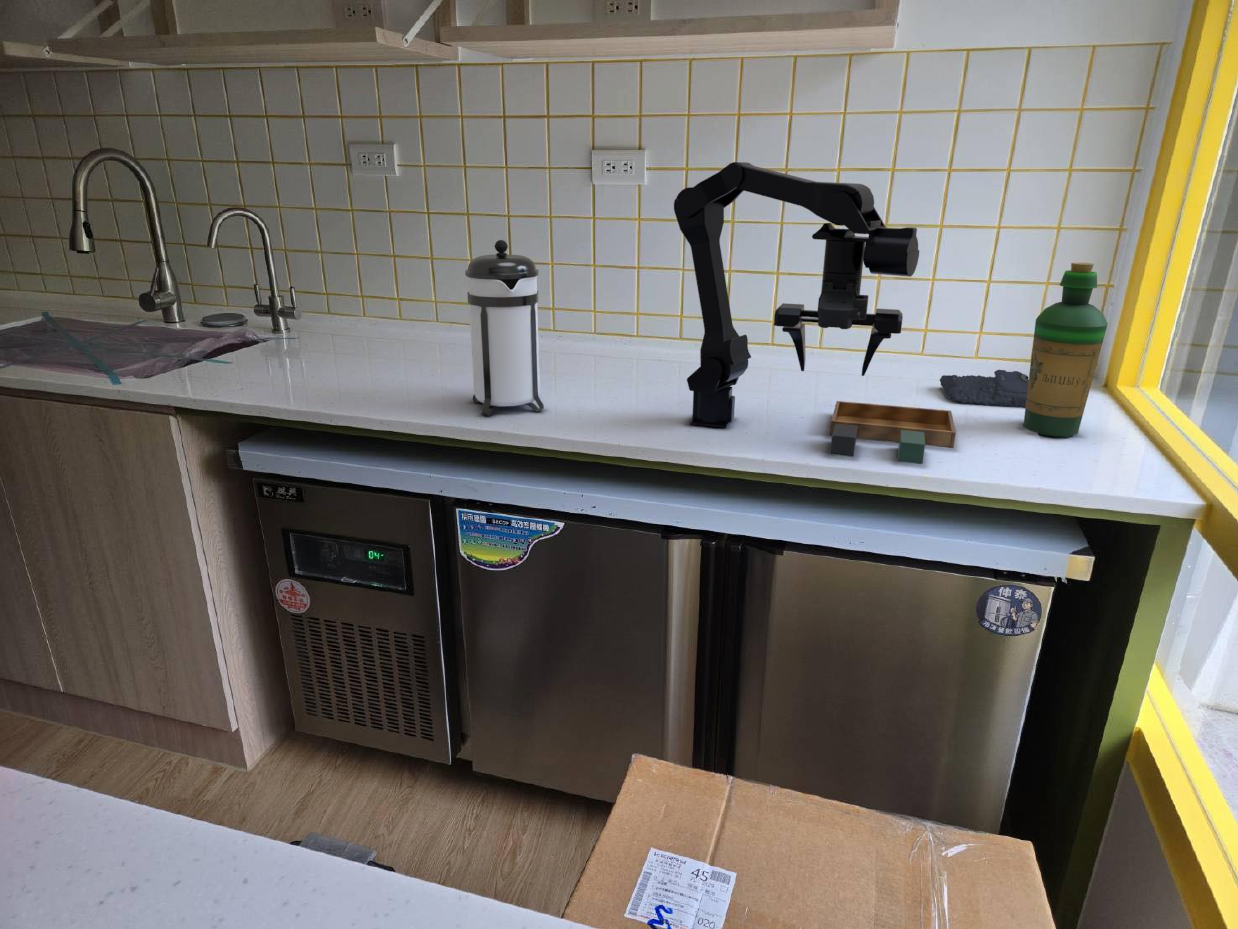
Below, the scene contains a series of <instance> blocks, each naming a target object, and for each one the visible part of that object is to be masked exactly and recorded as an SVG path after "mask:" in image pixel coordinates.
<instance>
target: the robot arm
mask: <svg viewBox="0 0 1238 929" xmlns="http://www.w3.org/2000/svg"><path fill="white" fill-rule="evenodd" d="M743 192H747V193H752V194H755V195H760V196H761V197H766V198H769V199H773V200H777V201H781V202H785V203H788V204H792V205H795V206H800V207H802V208H804V209H806V210H808V211H810V212H811V214H814V215H815V216H816V217H818V218H821V219H823V220H824V221H827V222H825V223H822V226H821V227H820V228H819V229H818V230H817V231H816V232H814V233H813V234H812V235H811V238H812V240H819V241H820V240H822V241H825V246H824V257H823V268H822V278H821V291H820V295H819V297H818V301H817V310H812V309H805V304H802V303H784V302H783V303H782V304H780V305H779V306H778V307H777V308H776V309H775V311H774V318H773V326H775V327H782V328H781V329H782V332H783V333H788V334H789V336H790V338H791V340H792V342H793V346H794V347H795V351H796V355H797V359H798V364H799V367H800V371H801V372H805V369H806V368H805V367H806V323H813V324H817V326H818V327H819V328H821V329H828V328H835V329H836V328H837V329H840V330H850V329H851V328H852V326H864V327H872V328H871V331H870V334H869V339H868V343H867V347H866V352H865V354H864V357H863V358H864V359H863V363H862V366H861V367H862V368H861V376H862V377H864V376H865V375H866V373H867V371H868V368H869V366H870V364H871V362H872V359H873V357H874V355H875V354H876V351H877V349H878V348H879V346H880V345H881V343H882V342H883V340H884V339H885V340H886V339H887V340H888V339H889V340H890V339H891V338H892V334H894V335H896V334H902V325H903V320H904V319H903V317H904V316H903V313H902V311H901V310H900V309H896V308H895V309H894V308H893V309H892V308H876V309H875V313H868V305H869V295H868V294H861V287H862V279H863V278H862V277H863V268H864V267H865V269H868V270H869V273H870V274H871V275H880V276H881V275H883V276H893V277H894V276H897V277H912V276H913V275H914V274H915V271H916V269H917V266H918V263H919V258H920V249H919V241H918V240H919V239H918V236H917V234H918V233H917V232H918V228H917V227H914V226H913V227H912V226H911V227H909V226H907V227H887V226H886V225H885V223H884V221H883V219H882V217H881V216H880V214H879V213H878V211H877V209H876V208H875V197H874V194H873V192H872V190H871V188H870V187H868V186H867V185H865V184H863V183H853V182H831V181H830V182H828V181H815V180H812V179H808V178H803V177H799V176H795V175H791V174H787V173H783V172H781V171H780V172H779V171H775V170H771V169H768V168H764V167H760V166H756V165H754V164H752V163H750V162H744V161H742V162H741V161H732V162H731V163H728V164H727V165H726V166H725V167H723V168H722V169H720V171H718V172H716V173H714V174H712V175H711V176H709V177H707V178H705V179H703V180H701V181H700V182H698V183H697V184H695V185H694V186H690V187H685V188H683V189H682V190H681V191H679V193H678V194H677V196H676V198H674V201H673V212H674V215H675V218H676V221H677V224H678V228H679V231H680V232H681V234H682V235H683V237H684V238H685V240H686V241H687V243H688V244H689V246H690V250H691V257H692V262H693V268H694V275H695V280H696V286H697V292H698V298H699V304H700V312H701V316H702V323H703V328H704V329H703V330H704V334H703V338H702V341H701V344H700V350H699V351H700V352H699V356H700V358H699V360H700V361H699V362H700V366H699V367H698V368H697V369H696V370H694V372H692V373H691V374H690V375H689V376H688V377H687V378H686V382H687V386H688V390H689V391H690V392H693V394H692V417H691V419H690V420H689V425H692V426H702V427H710V428H711V427H712V428H721V429H726V428H727V427H728V426H729V425H730V424H731V422H733V420H734V419H735V409H736V408H735V407H736V396H735V395H733V386H736V385H737V384H738V381H739V379H740V377H741V376H743V375H744V374H745V372H746V371H747V369H748V368H749V359H751V358H752V355H751V354H750V351H749V346H748V344H749V340H748V339H749V338H748V336H747V334H742V335H739V333H738V332H737V331H736V329H735V327H734V324H733V320H732V318H733V317H732V312H731V305H730V300H729V294H728V287H727V280H726V274H725V268H724V262H723V255H722V249H721V243H720V242H721V236H722V231H723V228H724V223H725V209H726V207H728V206H730V205H731V204H732V203H733V202H735V201H736V200H737V199H738V197H739V196H740V195H741V194H742V193H743ZM833 225H836V226H844V227H846V228H835V227H834V226H833ZM857 234H858V235H857ZM859 235H868V236H859ZM863 265H864V266H863Z"/></svg>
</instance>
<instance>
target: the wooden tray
mask: <svg viewBox="0 0 1238 929" xmlns="http://www.w3.org/2000/svg"><path fill="white" fill-rule="evenodd" d="M835 424H843V425H853V426H858V428H857V437H856V439H861V440H870V441H880V442H891V443H899V439H900V431H901V430H906V431H917V432H924V437H925V446H931V447H942V448H951V449H954V447H955V441H956V435H957V430H956V427H955V422H954V417H953V412H952V410H947V409H937V408H925V407H912V406H902V405H890V404H889V405H888V404H879V403H867V402H855V401H844V400H836V402H835V405H834V408H833V413H832V416H831V419H830V425H829V427H830V428H829V436H830V437H832V434H833V430H834V427H835Z"/></svg>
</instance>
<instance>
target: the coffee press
mask: <svg viewBox="0 0 1238 929" xmlns="http://www.w3.org/2000/svg"><path fill="white" fill-rule="evenodd" d="M508 247H509V246H508V243H507V241H505V240H503V239H499V240H497V241H496V242H495V243H494V249H495V251H496V252H497V253H495V254H485V255H480V256H476V257H474V258H473V259H472V260H471V261H469V263H468V266H467V269H466V270H465V271H464V274H465V275H464V276H465V277H466V279H467V286H468V292H467V294H466V295H467V304H468V305H469V306H468V308H469V321H470V338H471V339H470V342H471V359H472V377H473V390H474V394H473V396H472V401H473V402H474V404H479V403H482V408H481V410H480V411H481V415H482V416H487V417H491V416H492V415H493V413H494V410H495V409H496V408H497V407H517V406H523V405H527V406H529V407H530V408H531V409H532V411H534V412H536V413H539V412H541V411H543V410H544V408H545V406H544V403H543V402H542V400H541V398H540V397H539V396H540V392H541V390H540V348H539V346H540V345H539V314H538V309H539V308H538V303H539V301H540V300H539V299H540V298H539V291H538V277H539V275H540V270H539V269H538V268H537V266H536V264H535V261H533V260H532V259H531V258H529V257H527V256H524V255H520V254H509V253H507V252H506V251H507V250H508ZM534 401H535V403H536V404H537V405H536V404H535V403H533V402H534Z"/></svg>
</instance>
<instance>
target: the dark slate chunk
mask: <svg viewBox="0 0 1238 929" xmlns="http://www.w3.org/2000/svg"><path fill="white" fill-rule="evenodd" d="M993 374H994V376H985V375H981V374H980V375H979V374H977V375H974V374H973V375H972V374H971V375H968V374H967V375H961V376H960V375H957V374H952V375H950V374H949V375H946V374H943V375H941V377H940V378H939V383H940V384H939V385H940V386H941V387H942V390H943V393H944V394H945V395H946V397H947V398H948V399H950V400H952V401H953V402H955V403H965V404H968V405H977V406H979V405H980V406H981V405H982V406H991V407H992V406H993V407H994V406H995V407H997V406H998V407H1010V408H1025V407H1026V399H1027V390H1028V382H1029V375H1027V374H1025V373H1022V372H1021V371H1019V370H1013V371H1007V370H1005V369H996V370H995V371H994V373H993Z"/></svg>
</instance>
